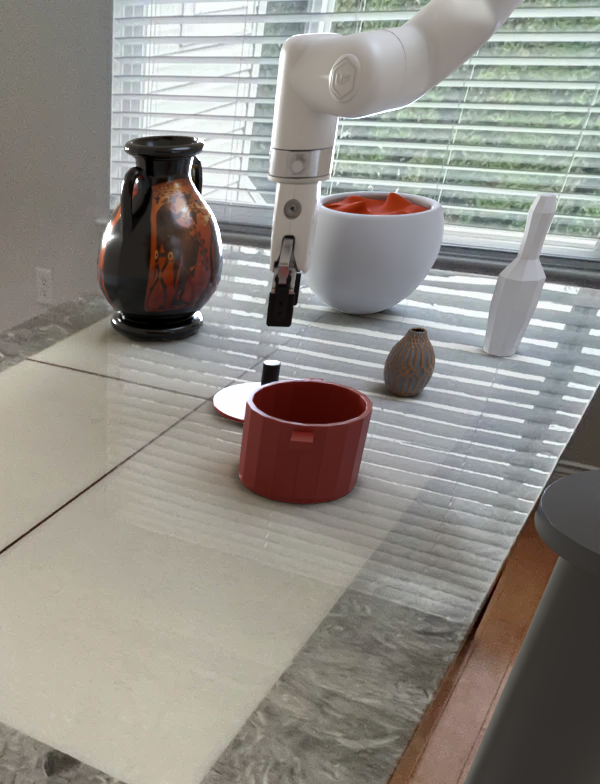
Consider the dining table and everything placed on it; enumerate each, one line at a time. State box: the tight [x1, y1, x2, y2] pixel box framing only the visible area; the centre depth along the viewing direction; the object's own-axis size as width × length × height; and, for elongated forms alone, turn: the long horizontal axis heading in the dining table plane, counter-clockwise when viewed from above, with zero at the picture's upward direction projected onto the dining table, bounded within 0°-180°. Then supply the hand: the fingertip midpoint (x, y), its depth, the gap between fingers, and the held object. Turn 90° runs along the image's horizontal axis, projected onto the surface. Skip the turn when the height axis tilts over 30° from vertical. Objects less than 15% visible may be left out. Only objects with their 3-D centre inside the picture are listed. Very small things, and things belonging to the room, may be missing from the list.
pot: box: [301, 190, 445, 315], centre depth 150 cm, size 24×24×18 cm
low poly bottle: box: [482, 192, 557, 357], centre depth 129 cm, size 6×6×22 cm
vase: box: [382, 326, 436, 397], centre depth 122 cm, size 7×7×9 cm
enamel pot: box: [237, 377, 374, 505], centre depth 102 cm, size 14×20×10 cm
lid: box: [212, 359, 282, 424], centre depth 120 cm, size 15×15×7 cm
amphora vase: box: [96, 134, 224, 342], centre depth 141 cm, size 22×22×28 cm
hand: (282, 315), depth 113 cm, fingers open, 9 cm apart
